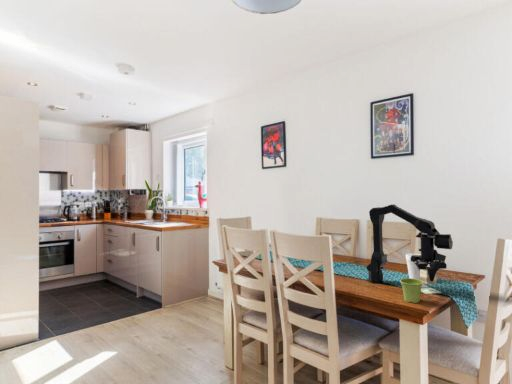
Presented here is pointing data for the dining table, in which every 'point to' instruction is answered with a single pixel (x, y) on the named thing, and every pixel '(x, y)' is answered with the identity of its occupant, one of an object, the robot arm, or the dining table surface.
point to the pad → (429, 290)
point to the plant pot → (411, 289)
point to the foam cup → (412, 267)
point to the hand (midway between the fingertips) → (428, 279)
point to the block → (426, 277)
